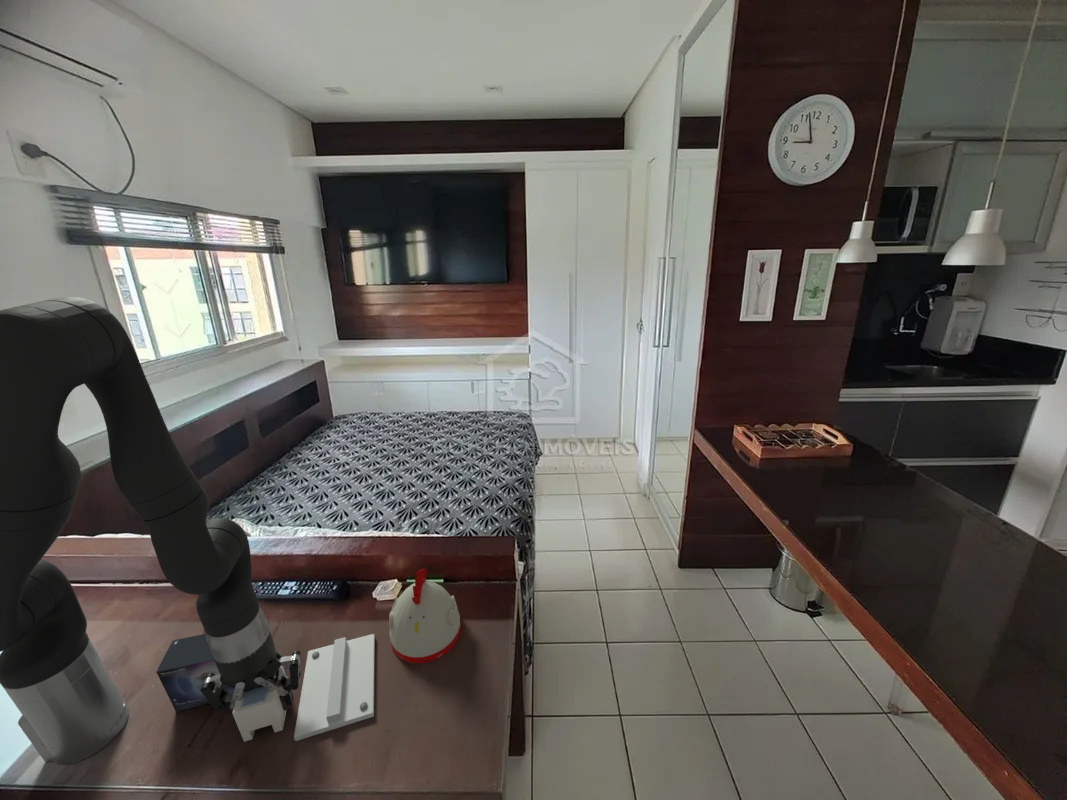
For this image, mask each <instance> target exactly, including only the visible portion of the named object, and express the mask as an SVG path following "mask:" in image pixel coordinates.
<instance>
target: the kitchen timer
mask: <svg viewBox="0 0 1067 800" xmlns="http://www.w3.org/2000/svg"><path fill="white" fill-rule="evenodd" d="M415 573H416V577H414V582H413V583H412V584H410V585H409V586H408V587H406V588H405V590H403V592H402V593H401V594H400V596H399V597H396V598H395V599H394V603H393V605H392V608H391V611H390V612H389V616H388V617H389V619H388V627H389V631H388V632H389V640H390V645H391V649H392V651H393V652H394V653H395V654H394V655H396V656H397V657H398V658H400V659H401V660H402V661H404V662H407V663H410V664H426V663H429V662H433V661H435V660H437V659H439V658H441V657H442V656H445V655H446V654H447V653H448V652H449V651H450V650H451V649H452V648H453V647H454V646H455V644H456V643H457V641H458V639H459V637H460V634H461V630H462V629H461V616H460V613H459V608H458V605H457V602H456V598H455V595H451V594H450V593H449V592H448V591H447V590H446V589H445V588H444V587H443V586H442V585H440V584H438V583H436V582H435V581H429V580H427V570H426V568H421V569H418V571H416V572H415Z"/></svg>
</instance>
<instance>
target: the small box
mask: <svg viewBox="0 0 1067 800" xmlns="http://www.w3.org/2000/svg"><path fill="white" fill-rule="evenodd" d="M155 673H156V675H157V676H158V678H159V681H160V682H161V684H162V687H163V689H164V692H166V694H167V696H168V698H169V701H170V703H171V705H172V707H173V709H174V712H176V713H178V712H183V711H187V710H190V709H196V708H199V707H204V706H207V705H211V703H210V702H209V701H208V700H207V698H206V697H205V696H204V695H203V694H202V692H201V691H200V690H201V687H202V685H203V682H204V680H205V677H206V675H207V674H208V673H214V674H215V675H217V674H220V673H219V671H218V668H217V666H216V663H215V661H214V658H213V656H212V654H211V651H210V649H209V646H208V643H207V638H206V633H203V634H197V635H193V636H187V637H184V638H177V639H173V640H172V641H171V643H170V644H169V647H168V648H167V650H166V651H165V654H164V656H163V657H162V660H161V661H160V663H159V665H158V667H157V669H156V670H155ZM223 686H224V687H225V688H226V689H227V691H228V692H229V694H234V690H235V688H232V687H230V686H227V685H225V684H223Z"/></svg>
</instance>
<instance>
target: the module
mask: <svg viewBox="0 0 1067 800" xmlns="http://www.w3.org/2000/svg"><path fill="white" fill-rule="evenodd" d="M280 668H281V669H282V670H283V673H284V674H285V675H286V673H285V669H284V668H285V667H284V666H280ZM279 696H280V695H279V694H278V693H277V690H274V691H272V692H270V691H269V690H268V689H266V688H265V687H262V688H255V689H253V690H251V691H247V692H244V691H243V693H242V696H241V700H240V701H236V703H235V706H234V709H233V710H232V716H233V718H234V720H235V721H234V722H235V723H236V726H237V729H238V730H239V733H240V736H241V737H242V740H243V742H244V743H246V742H247V741H251V740H253V739H254V735H255V731H256V730H259V729H262V728H265V727H268V726H271V727H272V730H273V731H274V733H278V732H280V731H283V730H284V726H285V721H286V715H287V711H288V709H287V710H284V709H283V707H282V704H281V701H280V698H279Z"/></svg>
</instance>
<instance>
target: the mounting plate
mask: <svg viewBox="0 0 1067 800" xmlns="http://www.w3.org/2000/svg"><path fill="white" fill-rule="evenodd" d="M375 639H376V637H375V633H372V634H367V635H362V636H360V637H356V638H352V639H349V640H348V639H347V637H346V636H345V637H340V638H337V639H334V643H332V644H329V645H326V646H322V647H319V648H315V649H311V650H308V651H307V656H306V663H305V669H304V674H303V680H302V685H301V686H302V687H301V692H300V699H299V705H298V709H297V717H296V723H295V728H294V734H293V735H294V736H293V740H294V741H295V742H297V741H301V740H305V739H307V738H310V737H313V736H317V735H319V734H323V733H325V732H328V731H333V730H336V729H339V728H342V727H344V726H349V725H352V724H355V723H357V722H361V721H364V720H367V719H370V718H373V717H375V664H376V663H375V659H376V658H375V657H376V656H375V654H376V651H375V649H376V648H375V647H376V645H375V644H376V642H375V641H376V640H375Z"/></svg>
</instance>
